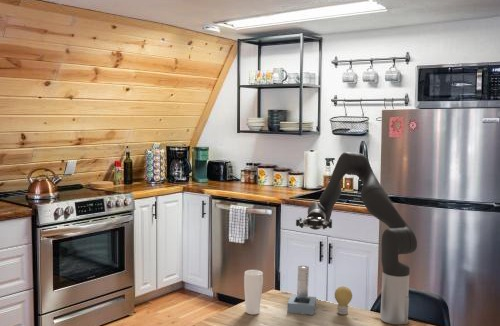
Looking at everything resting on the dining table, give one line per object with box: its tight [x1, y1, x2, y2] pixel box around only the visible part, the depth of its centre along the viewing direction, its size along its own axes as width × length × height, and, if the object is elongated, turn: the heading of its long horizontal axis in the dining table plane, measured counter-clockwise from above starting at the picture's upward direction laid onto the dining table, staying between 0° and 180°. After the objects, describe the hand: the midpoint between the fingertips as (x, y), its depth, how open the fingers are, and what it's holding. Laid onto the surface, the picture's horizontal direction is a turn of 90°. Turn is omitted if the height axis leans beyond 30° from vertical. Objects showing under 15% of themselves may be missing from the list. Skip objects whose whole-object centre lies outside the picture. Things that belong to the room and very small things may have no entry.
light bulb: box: [334, 286, 353, 316], centre depth 191 cm, size 6×6×10 cm
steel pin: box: [296, 265, 310, 303], centre depth 194 cm, size 4×4×16 cm
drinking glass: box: [243, 269, 264, 316], centre depth 189 cm, size 7×7×15 cm
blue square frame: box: [286, 294, 317, 316], centre depth 194 cm, size 10×10×4 cm
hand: (312, 226), depth 202 cm, fingers open, 8 cm apart
